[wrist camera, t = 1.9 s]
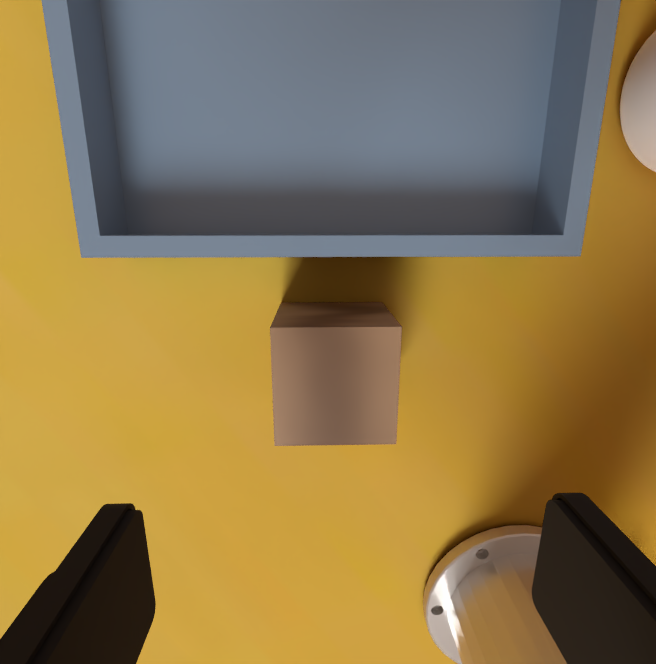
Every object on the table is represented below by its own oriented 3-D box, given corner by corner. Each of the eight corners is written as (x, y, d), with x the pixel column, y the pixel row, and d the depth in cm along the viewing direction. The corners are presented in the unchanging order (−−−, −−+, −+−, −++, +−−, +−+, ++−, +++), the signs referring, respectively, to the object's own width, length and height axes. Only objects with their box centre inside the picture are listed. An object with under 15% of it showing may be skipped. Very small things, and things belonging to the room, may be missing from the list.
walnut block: (381, 301, 25) (401, 326, 19) (378, 394, 26) (396, 444, 20) (281, 302, 24) (270, 327, 19) (284, 395, 26) (274, 445, 20)
